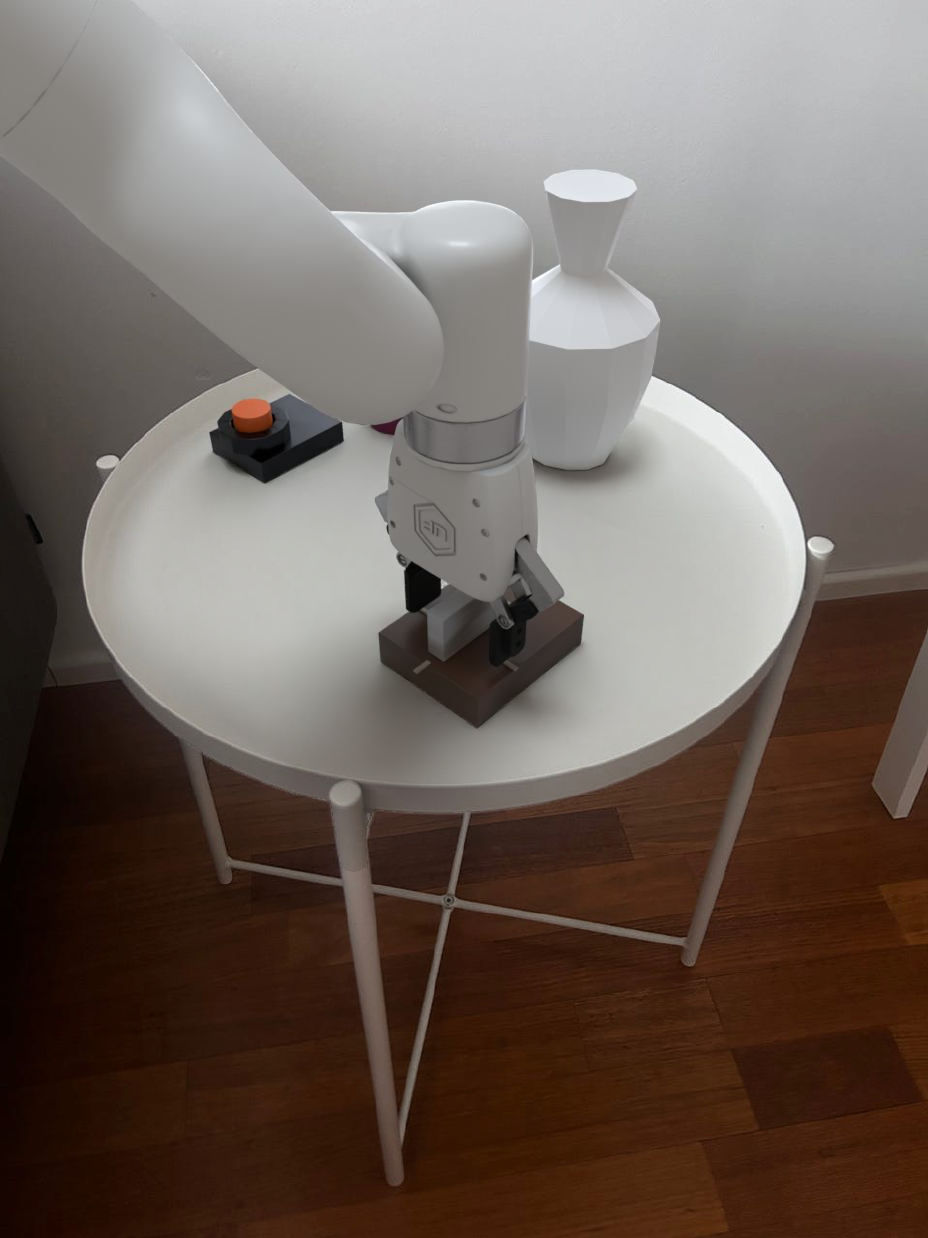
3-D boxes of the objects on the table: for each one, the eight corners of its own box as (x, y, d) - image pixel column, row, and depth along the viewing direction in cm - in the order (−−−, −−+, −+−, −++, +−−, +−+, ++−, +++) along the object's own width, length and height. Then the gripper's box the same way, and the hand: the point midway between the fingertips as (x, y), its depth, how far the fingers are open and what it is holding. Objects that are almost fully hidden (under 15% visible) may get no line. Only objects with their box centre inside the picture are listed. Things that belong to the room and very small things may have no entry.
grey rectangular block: (443, 662, 72) (443, 618, 69) (427, 651, 73) (426, 608, 70) (499, 621, 76) (500, 577, 73) (483, 611, 76) (484, 568, 73)
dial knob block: (467, 738, 71) (468, 707, 69) (368, 668, 76) (365, 637, 74) (582, 643, 78) (585, 613, 76) (484, 585, 83) (485, 555, 81)
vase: (465, 450, 98) (466, 186, 81) (555, 396, 106) (573, 144, 89) (581, 509, 91) (609, 233, 74) (669, 445, 99) (712, 183, 82)
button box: (258, 486, 94) (252, 450, 91) (206, 454, 98) (198, 418, 95) (344, 441, 100) (341, 405, 97) (291, 412, 104) (287, 377, 101)
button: (250, 438, 93) (247, 422, 92) (226, 424, 95) (223, 408, 94) (280, 423, 95) (278, 407, 94) (256, 410, 97) (254, 394, 96)
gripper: (324, 391, 64) (345, 600, 76) (534, 500, 56) (521, 717, 67) (407, 350, 68) (415, 554, 80) (615, 446, 60) (590, 659, 71)
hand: (464, 627), depth 74 cm, fingers open, 7 cm apart
